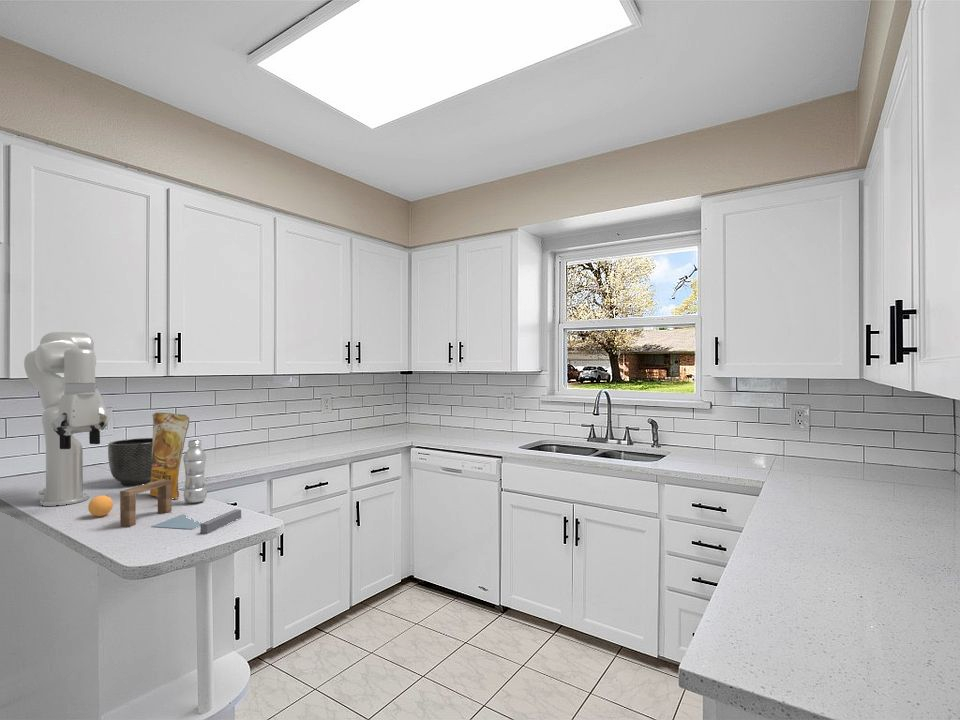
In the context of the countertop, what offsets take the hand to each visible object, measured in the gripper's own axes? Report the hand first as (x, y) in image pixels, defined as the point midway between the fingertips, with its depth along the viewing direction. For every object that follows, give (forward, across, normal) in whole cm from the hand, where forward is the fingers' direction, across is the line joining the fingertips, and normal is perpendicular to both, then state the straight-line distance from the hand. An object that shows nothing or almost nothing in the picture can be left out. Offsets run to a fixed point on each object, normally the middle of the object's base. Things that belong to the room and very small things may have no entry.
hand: (80, 446), depth 159 cm
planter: (+20, -38, -16) cm, 45 cm away
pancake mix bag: (+20, -23, +10) cm, 32 cm away
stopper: (+21, +5, +50) cm, 54 cm away
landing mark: (+21, +2, +38) cm, 43 cm away
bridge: (+20, +2, +24) cm, 32 cm away
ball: (+17, +1, +8) cm, 19 cm away
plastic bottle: (+21, -16, +26) cm, 37 cm away
